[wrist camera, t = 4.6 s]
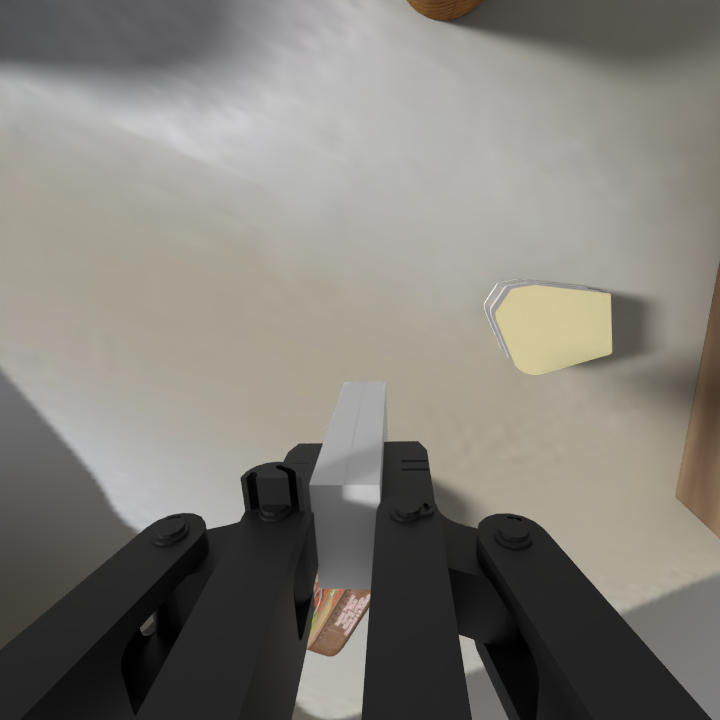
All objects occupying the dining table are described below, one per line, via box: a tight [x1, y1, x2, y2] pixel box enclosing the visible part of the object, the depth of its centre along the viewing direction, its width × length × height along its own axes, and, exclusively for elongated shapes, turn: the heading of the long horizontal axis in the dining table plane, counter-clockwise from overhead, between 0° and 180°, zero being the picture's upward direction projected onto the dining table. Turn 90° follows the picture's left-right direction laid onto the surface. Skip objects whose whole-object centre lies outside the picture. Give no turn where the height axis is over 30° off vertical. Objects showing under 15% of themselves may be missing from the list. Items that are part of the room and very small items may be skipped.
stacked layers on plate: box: [484, 279, 612, 375], centre depth 29 cm, size 10×9×6 cm
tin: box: [306, 574, 371, 656], centre depth 35 cm, size 15×3×8 cm, turn 154°
